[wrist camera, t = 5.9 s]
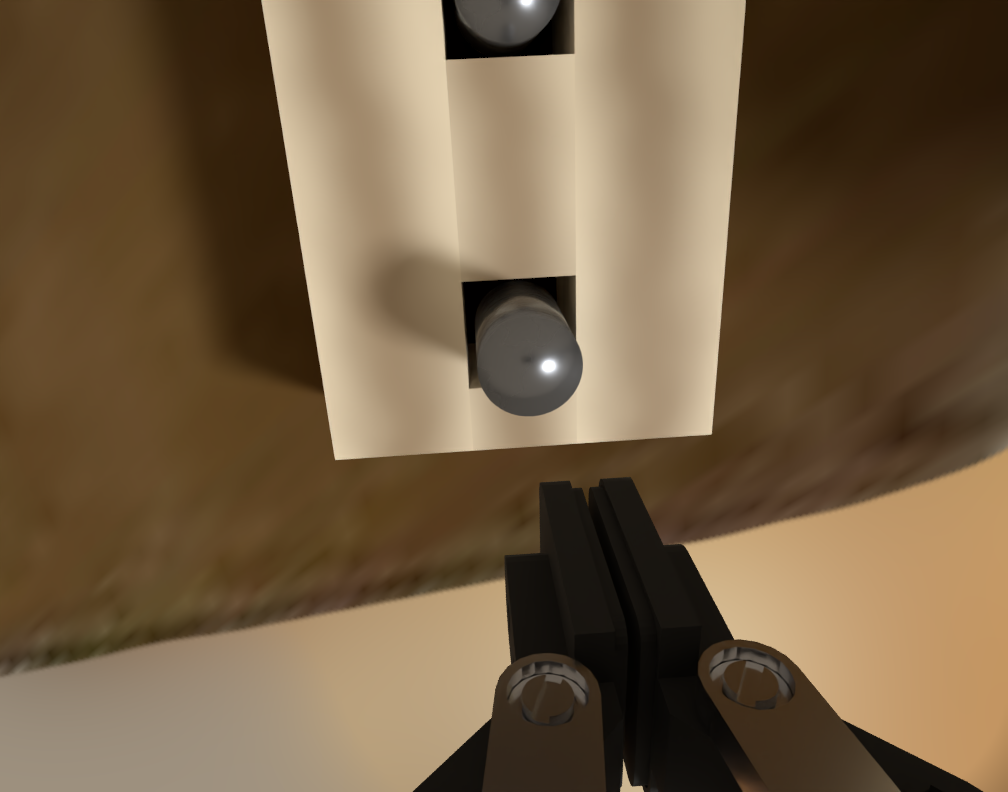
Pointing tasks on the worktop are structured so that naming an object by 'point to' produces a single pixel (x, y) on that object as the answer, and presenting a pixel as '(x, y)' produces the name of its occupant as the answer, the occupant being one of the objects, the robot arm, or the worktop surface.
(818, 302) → the worktop surface
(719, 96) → the maple block
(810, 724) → the robot arm
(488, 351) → the peg
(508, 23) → the peg
